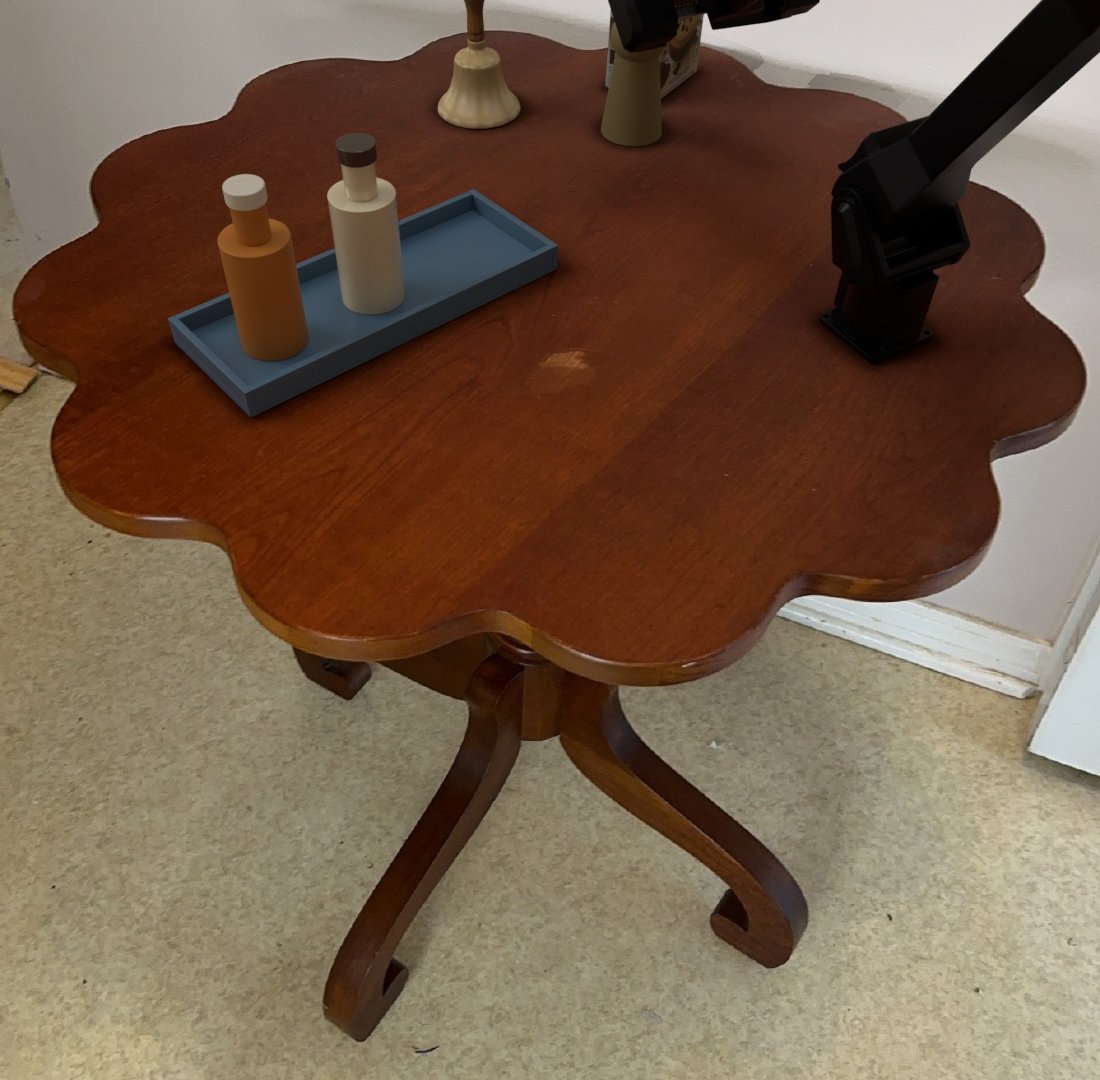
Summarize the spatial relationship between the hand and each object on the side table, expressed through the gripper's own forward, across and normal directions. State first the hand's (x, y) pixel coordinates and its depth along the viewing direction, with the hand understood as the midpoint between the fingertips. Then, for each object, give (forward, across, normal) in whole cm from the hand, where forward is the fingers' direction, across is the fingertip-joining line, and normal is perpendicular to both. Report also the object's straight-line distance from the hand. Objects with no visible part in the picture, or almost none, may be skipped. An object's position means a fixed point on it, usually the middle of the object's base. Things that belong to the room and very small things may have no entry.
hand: (668, 34), depth 96 cm
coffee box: (+17, -8, -1) cm, 19 cm away
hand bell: (+19, +11, -3) cm, 22 cm away
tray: (+1, +33, +15) cm, 37 cm away
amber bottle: (-1, +42, +16) cm, 45 cm away
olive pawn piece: (+11, 0, +5) cm, 12 cm away
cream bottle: (0, +33, +14) cm, 36 cm away
